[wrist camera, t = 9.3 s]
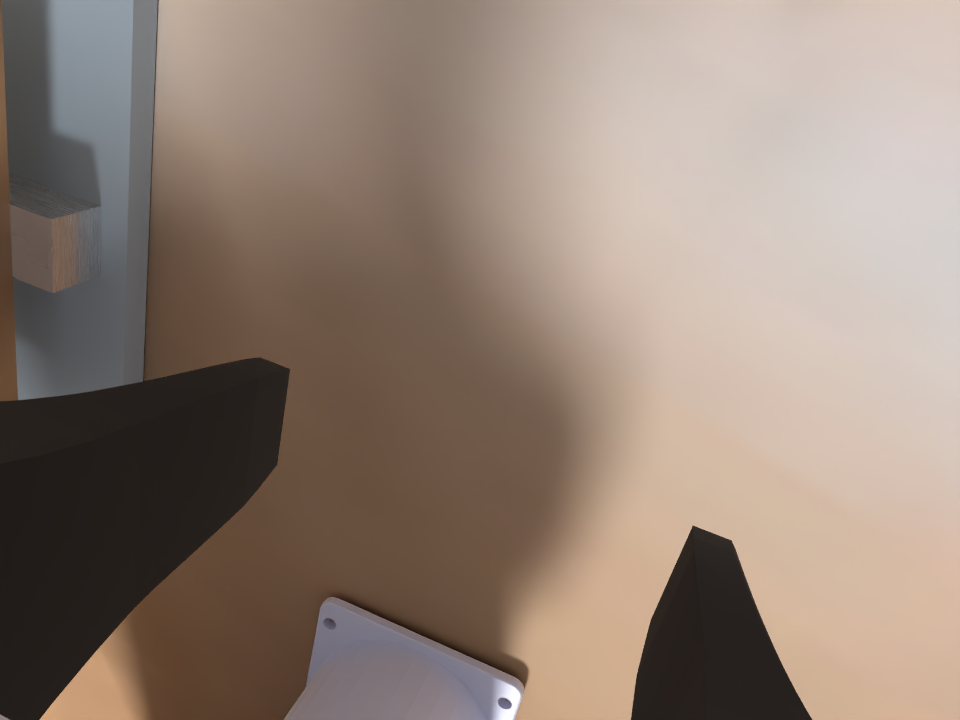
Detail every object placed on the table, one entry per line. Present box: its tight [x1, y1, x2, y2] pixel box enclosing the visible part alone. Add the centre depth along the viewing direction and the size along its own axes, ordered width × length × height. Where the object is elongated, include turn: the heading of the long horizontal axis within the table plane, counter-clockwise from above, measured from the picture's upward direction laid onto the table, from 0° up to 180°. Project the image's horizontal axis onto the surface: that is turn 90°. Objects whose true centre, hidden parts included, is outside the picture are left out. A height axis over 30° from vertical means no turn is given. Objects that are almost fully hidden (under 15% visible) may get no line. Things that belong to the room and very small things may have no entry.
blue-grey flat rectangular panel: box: [1, 0, 158, 400], centre depth 27 cm, size 16×9×1 cm, turn 166°
